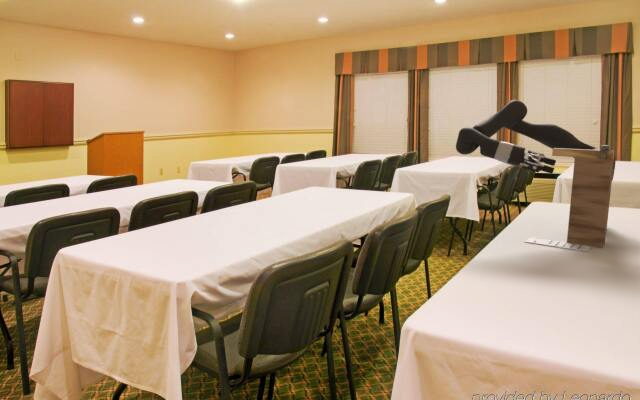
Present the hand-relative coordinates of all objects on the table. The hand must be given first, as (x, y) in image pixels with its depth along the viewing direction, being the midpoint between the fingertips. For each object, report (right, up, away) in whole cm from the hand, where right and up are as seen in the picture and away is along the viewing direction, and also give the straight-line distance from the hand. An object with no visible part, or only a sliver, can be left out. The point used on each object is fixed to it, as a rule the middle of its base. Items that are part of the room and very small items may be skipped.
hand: (554, 167), depth 187 cm
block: (+11, +4, +2) cm, 12 cm away
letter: (+2, -28, +3) cm, 29 cm away
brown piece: (+14, -28, +5) cm, 32 cm away
